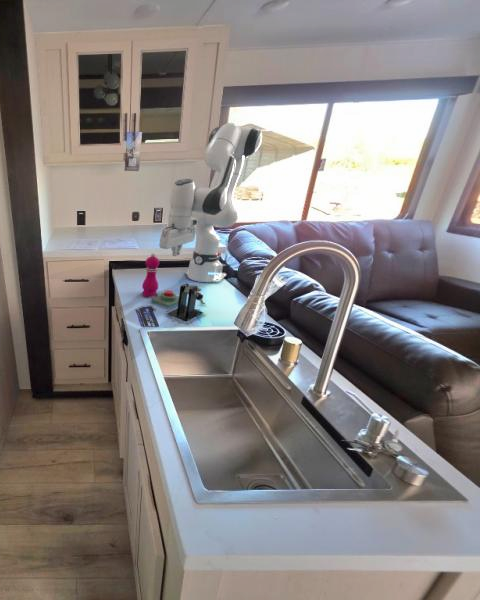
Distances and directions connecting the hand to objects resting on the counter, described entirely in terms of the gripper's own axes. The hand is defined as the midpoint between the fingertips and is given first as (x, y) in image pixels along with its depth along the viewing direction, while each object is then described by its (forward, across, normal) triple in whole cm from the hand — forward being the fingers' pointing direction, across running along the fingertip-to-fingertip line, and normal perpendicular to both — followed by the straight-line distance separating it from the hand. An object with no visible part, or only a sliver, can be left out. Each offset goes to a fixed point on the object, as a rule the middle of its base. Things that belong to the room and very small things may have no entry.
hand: (175, 255), depth 133 cm
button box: (+21, -4, -1) cm, 21 cm away
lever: (+14, -5, -13) cm, 19 cm away
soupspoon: (+21, +13, -5) cm, 26 cm away
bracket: (+21, -9, -13) cm, 26 cm away
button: (+17, -4, -1) cm, 18 cm away
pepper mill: (+21, -3, +10) cm, 24 cm away
